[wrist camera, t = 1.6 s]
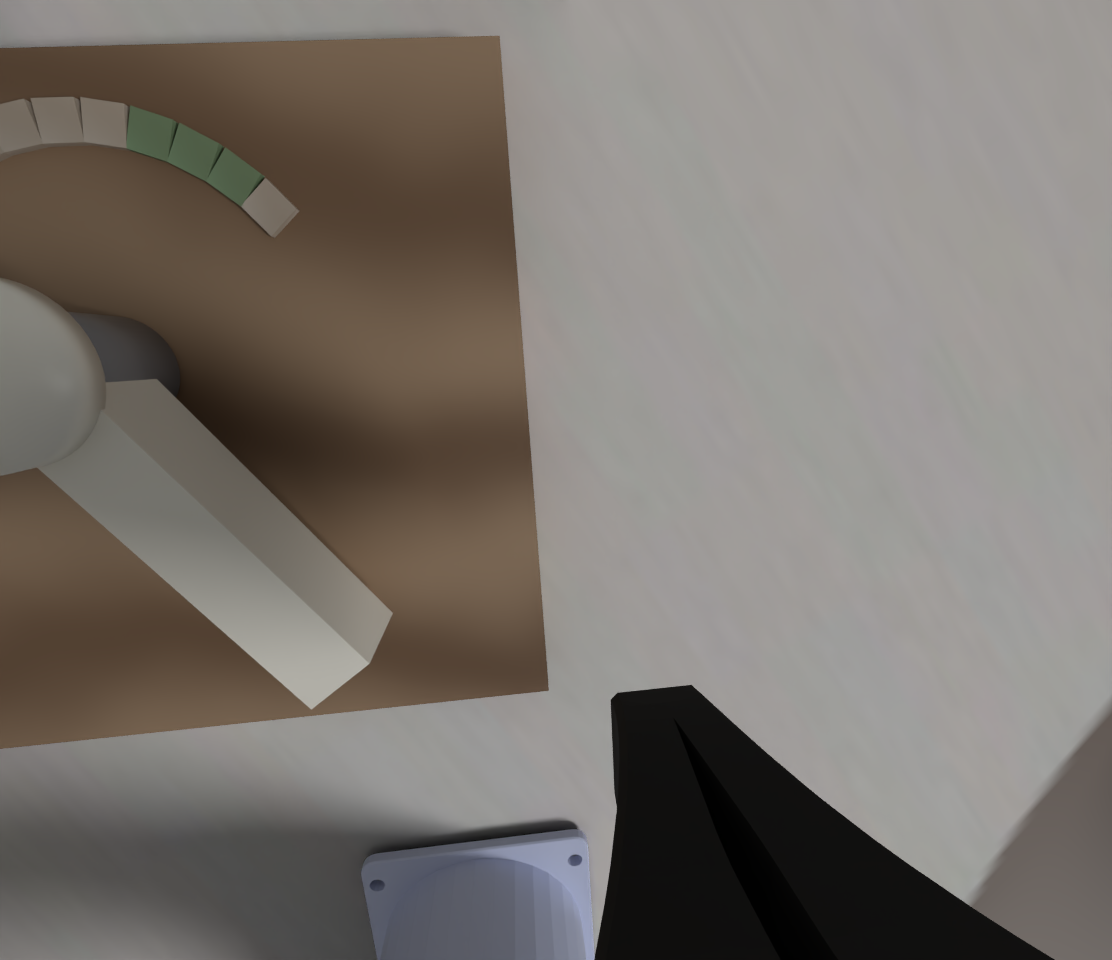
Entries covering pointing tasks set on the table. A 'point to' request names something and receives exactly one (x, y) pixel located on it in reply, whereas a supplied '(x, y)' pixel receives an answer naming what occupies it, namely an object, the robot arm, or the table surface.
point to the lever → (175, 490)
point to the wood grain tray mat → (279, 361)
